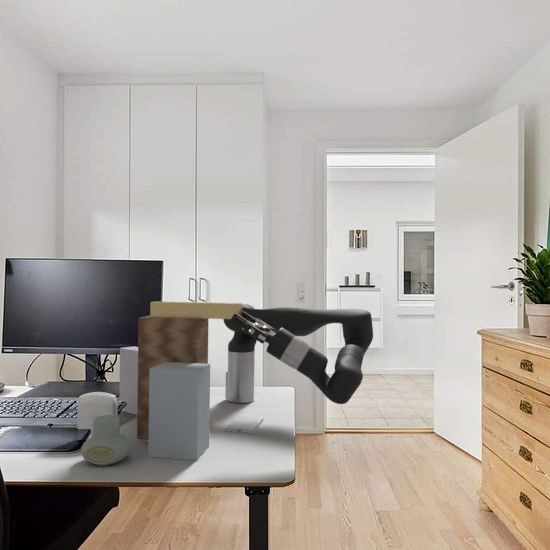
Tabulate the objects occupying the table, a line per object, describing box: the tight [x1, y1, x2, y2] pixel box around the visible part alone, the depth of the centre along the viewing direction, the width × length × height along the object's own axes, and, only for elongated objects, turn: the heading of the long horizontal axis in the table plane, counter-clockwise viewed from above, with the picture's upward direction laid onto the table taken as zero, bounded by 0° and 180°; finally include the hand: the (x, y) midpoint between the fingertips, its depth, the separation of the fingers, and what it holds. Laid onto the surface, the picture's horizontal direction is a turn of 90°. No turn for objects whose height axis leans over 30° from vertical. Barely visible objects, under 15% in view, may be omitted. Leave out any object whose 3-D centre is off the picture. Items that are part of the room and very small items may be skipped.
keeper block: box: [148, 362, 211, 461], centre depth 128 cm, size 12×10×21 cm
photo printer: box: [76, 391, 118, 437], centre depth 136 cm, size 10×4×12 cm, turn 90°
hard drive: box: [224, 415, 264, 434], centre depth 151 cm, size 2×8×12 cm
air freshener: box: [80, 415, 132, 467], centre depth 121 cm, size 11×8×10 cm
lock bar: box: [149, 301, 243, 320], centre depth 139 cm, size 24×4×4 cm, turn 85°
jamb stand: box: [136, 315, 209, 442], centre depth 140 cm, size 16×10×32 cm, turn 81°
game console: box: [118, 346, 138, 416], centre depth 159 cm, size 6×27×20 cm, turn 53°
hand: (236, 315), depth 137 cm, fingers open, 8 cm apart
